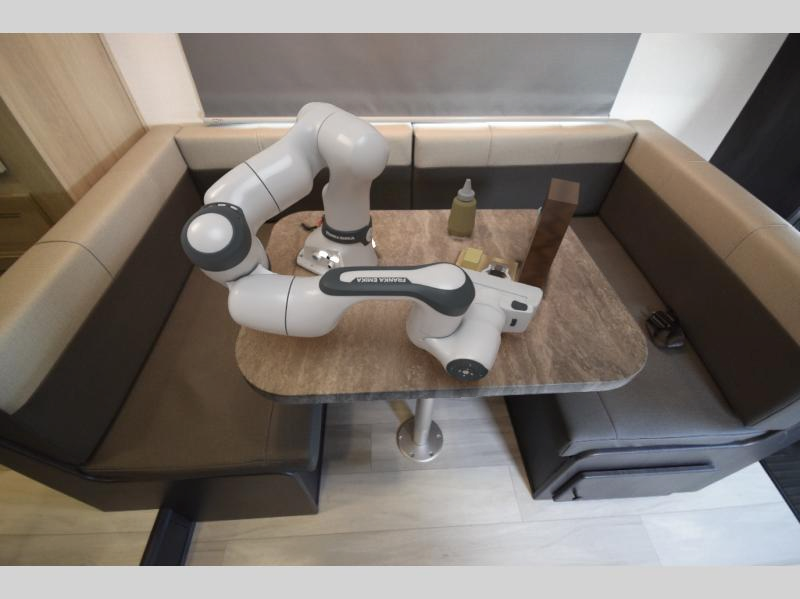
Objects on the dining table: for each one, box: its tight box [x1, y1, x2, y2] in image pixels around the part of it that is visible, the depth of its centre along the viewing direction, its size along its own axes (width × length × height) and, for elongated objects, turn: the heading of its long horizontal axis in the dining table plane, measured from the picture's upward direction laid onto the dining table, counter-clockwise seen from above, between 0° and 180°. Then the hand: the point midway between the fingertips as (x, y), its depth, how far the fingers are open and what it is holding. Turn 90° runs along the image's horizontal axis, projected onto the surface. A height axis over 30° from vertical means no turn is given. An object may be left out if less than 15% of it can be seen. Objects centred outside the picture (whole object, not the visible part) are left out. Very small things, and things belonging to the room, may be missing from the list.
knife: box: [491, 261, 509, 277], centre depth 85 cm, size 4×18×2 cm, turn 158°
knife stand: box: [517, 177, 581, 290], centre depth 85 cm, size 8×12×26 cm, turn 158°
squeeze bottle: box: [447, 178, 477, 238], centre depth 102 cm, size 8×8×18 cm
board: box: [454, 248, 519, 281], centre depth 95 cm, size 16×13×2 cm
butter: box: [462, 246, 484, 271], centre depth 95 cm, size 4×6×3 cm, turn 158°
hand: (498, 268), depth 80 cm, fingers closed on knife, 1 cm apart
